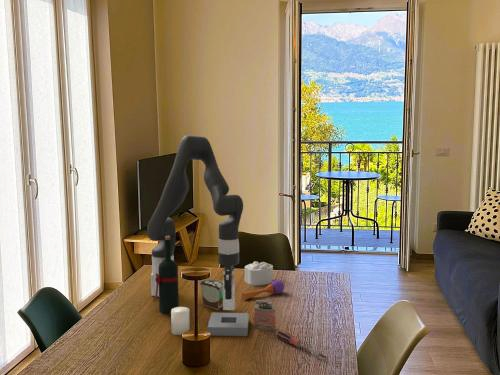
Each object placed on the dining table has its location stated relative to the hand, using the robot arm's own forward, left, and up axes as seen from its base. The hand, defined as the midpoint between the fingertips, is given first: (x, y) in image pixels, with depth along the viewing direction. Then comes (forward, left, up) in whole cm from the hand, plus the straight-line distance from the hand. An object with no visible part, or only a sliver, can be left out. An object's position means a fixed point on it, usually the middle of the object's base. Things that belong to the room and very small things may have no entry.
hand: (228, 296), depth 194 cm
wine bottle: (-26, +16, -12) cm, 33 cm away
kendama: (+12, +36, -12) cm, 40 cm away
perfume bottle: (+13, +1, -12) cm, 18 cm away
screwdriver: (+25, -16, -12) cm, 32 cm away
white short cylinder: (-17, -4, -12) cm, 21 cm away
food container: (-7, +23, -12) cm, 27 cm away
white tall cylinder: (0, 0, -4) cm, 4 cm away
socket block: (0, 0, -12) cm, 12 cm away
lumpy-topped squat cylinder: (+10, +56, -12) cm, 58 cm away
